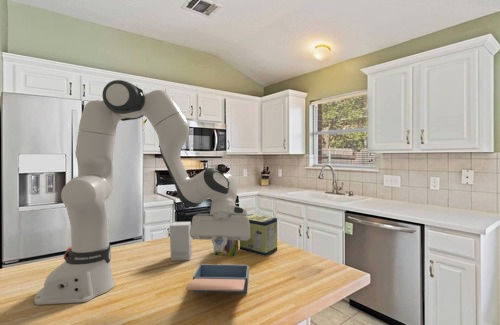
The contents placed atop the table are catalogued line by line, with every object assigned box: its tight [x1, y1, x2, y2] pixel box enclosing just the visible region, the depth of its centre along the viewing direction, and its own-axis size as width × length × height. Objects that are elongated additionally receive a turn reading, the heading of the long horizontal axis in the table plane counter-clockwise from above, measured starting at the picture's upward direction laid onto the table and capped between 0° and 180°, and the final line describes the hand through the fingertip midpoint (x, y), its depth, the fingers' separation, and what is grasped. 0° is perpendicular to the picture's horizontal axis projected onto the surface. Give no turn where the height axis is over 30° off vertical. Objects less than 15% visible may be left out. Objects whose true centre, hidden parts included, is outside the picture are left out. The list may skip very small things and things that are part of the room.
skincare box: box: [169, 221, 193, 262], centre depth 122 cm, size 8×7×16 cm
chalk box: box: [215, 240, 239, 257], centre depth 129 cm, size 9×9×15 cm
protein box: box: [239, 213, 278, 257], centre depth 133 cm, size 10×16×16 cm
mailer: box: [192, 263, 250, 294], centre depth 97 cm, size 18×11×5 cm, turn 88°
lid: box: [185, 278, 245, 291], centre depth 85 cm, size 17×11×1 cm, turn 88°
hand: (218, 251), depth 88 cm, fingers closed
